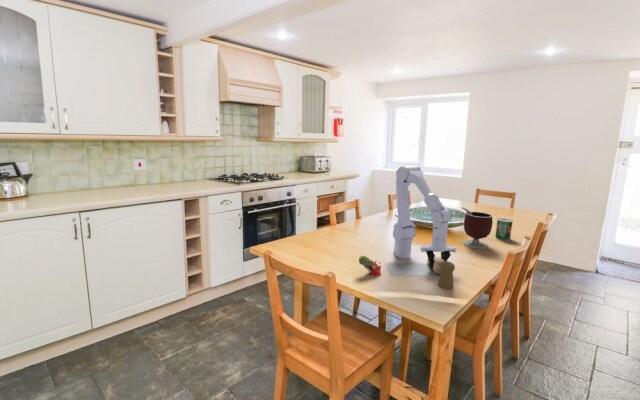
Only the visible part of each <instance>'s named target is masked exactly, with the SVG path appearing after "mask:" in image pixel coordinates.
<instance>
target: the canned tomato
mask: <svg viewBox="0 0 640 400" xmlns="http://www.w3.org/2000/svg"><path fill="white" fill-rule="evenodd" d="M512 228H513V220H512V219H508V218H502V217H500V218H497V219H496V227H495V236H494V238H495V237H496V238H495V239H497V238H498V239H497V240H500V239H501V241H510V240H511V237H512V236H511V235H512Z"/></svg>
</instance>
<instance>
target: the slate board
mask: <svg viewBox="0 0 640 400" xmlns="http://www.w3.org/2000/svg"><path fill="white" fill-rule="evenodd" d="M383 264H384V265H385V267H386V269H387V271H388V273H389V275H390V276H391V277H439V278H440V275H436V274H435V273H434V272H433V270H432V269H431V268H430V267H429V266H428V265H427V263H414V262H413V263H412V262H411V263H409V262H401V263H400V262H384V263H383Z"/></svg>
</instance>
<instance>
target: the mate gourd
mask: <svg viewBox="0 0 640 400" xmlns="http://www.w3.org/2000/svg"><path fill="white" fill-rule="evenodd" d="M461 209H462V210H464V211H465V216H464V218H463V219H464V220H463V228H464V229H463V230H464V232H465V234H466V235H467V236H468V237H470V238H472V240H469V239H468V240H464V241H463V245H464V246H465V247H468V248H472V249H478V248H479V249H482V250H483V249H488V247H489V246H488V244H487V243H486V242H483V241H480V239H485V238H487V237H488V236H489V235H491V232H492V228H493V222H494V221H493V215H492V214H491V213H487V212H481V211H470V210H469V209H467V208H465V207H462V208H461ZM479 249H478V250H479Z"/></svg>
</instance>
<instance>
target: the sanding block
mask: <svg viewBox="0 0 640 400" xmlns="http://www.w3.org/2000/svg"><path fill="white" fill-rule="evenodd" d="M434 255H435V257H434V262H433V269H432V270H433V272H434V273H435V274H436V275H440V274H441V269H440V265H441V263H442V262H444V260H443V259H442V258H441V255H439V254H438V253H434ZM426 264H427V265H428V266H429V267H430V265H429V259H428V258H427V261H426Z"/></svg>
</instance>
